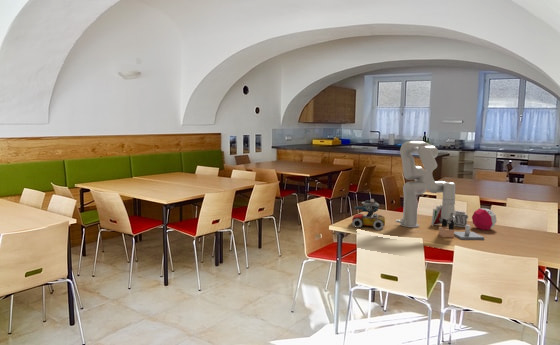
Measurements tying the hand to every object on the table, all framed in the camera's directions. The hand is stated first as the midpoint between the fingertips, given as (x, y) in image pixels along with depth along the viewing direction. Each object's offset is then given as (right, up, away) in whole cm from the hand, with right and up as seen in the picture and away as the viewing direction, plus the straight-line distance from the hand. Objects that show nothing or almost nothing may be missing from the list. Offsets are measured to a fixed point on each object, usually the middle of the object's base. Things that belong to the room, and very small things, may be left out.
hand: (447, 227), depth 276 cm
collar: (0, -5, +1) cm, 5 cm away
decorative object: (+34, -4, +23) cm, 42 cm away
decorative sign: (+13, -3, +30) cm, 33 cm away
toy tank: (-46, -2, +24) cm, 52 cm away
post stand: (+13, -6, 0) cm, 14 cm away
